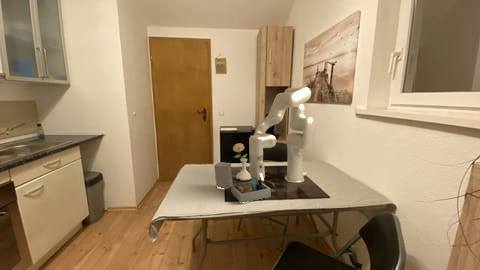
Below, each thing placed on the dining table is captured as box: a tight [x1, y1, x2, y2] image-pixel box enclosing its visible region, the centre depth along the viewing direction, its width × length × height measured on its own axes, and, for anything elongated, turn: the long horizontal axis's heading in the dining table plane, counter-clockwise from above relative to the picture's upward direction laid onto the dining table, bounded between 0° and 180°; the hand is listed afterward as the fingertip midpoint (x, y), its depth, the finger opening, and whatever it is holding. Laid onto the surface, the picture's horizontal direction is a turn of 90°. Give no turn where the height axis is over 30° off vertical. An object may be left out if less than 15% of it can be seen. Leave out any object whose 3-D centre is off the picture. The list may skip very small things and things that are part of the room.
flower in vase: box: [232, 142, 251, 181], centre depth 142 cm, size 13×11×25 cm
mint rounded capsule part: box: [251, 177, 260, 191], centre depth 120 cm, size 5×5×7 cm
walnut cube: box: [238, 184, 250, 194], centre depth 117 cm, size 5×5×5 cm
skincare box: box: [213, 161, 234, 189], centre depth 128 cm, size 8×7×16 cm
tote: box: [230, 180, 272, 203], centre depth 119 cm, size 18×14×5 cm
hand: (256, 188), depth 120 cm, fingers closed on mint rounded capsule part, 4 cm apart
